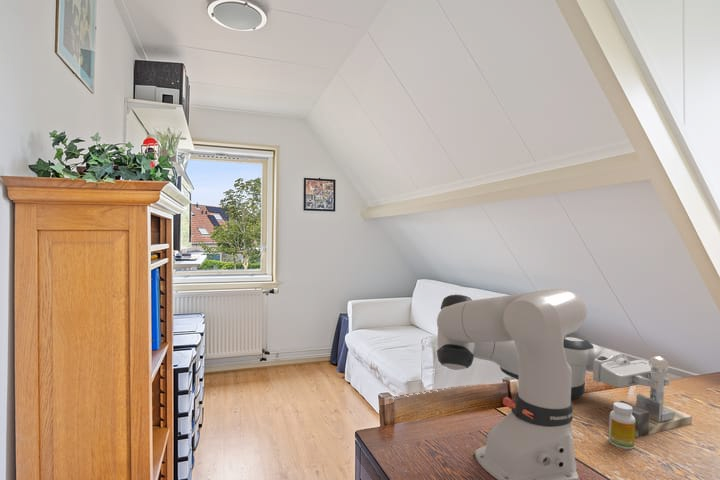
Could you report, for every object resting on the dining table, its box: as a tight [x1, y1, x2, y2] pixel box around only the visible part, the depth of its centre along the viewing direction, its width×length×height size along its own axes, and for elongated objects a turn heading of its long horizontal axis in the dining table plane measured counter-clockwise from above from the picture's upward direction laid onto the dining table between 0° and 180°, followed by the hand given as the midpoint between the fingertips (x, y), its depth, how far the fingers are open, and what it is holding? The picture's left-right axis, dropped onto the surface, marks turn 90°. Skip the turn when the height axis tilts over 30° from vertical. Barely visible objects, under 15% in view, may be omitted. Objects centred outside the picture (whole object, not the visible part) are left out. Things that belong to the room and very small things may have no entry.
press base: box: [612, 400, 693, 438], centre depth 109 cm, size 22×7×6 cm, turn 111°
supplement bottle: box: [608, 401, 636, 450], centre depth 99 cm, size 5×5×10 cm
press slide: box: [635, 355, 675, 422], centre depth 109 cm, size 7×6×16 cm
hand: (662, 384), depth 108 cm, fingers closed on press slide, 3 cm apart
